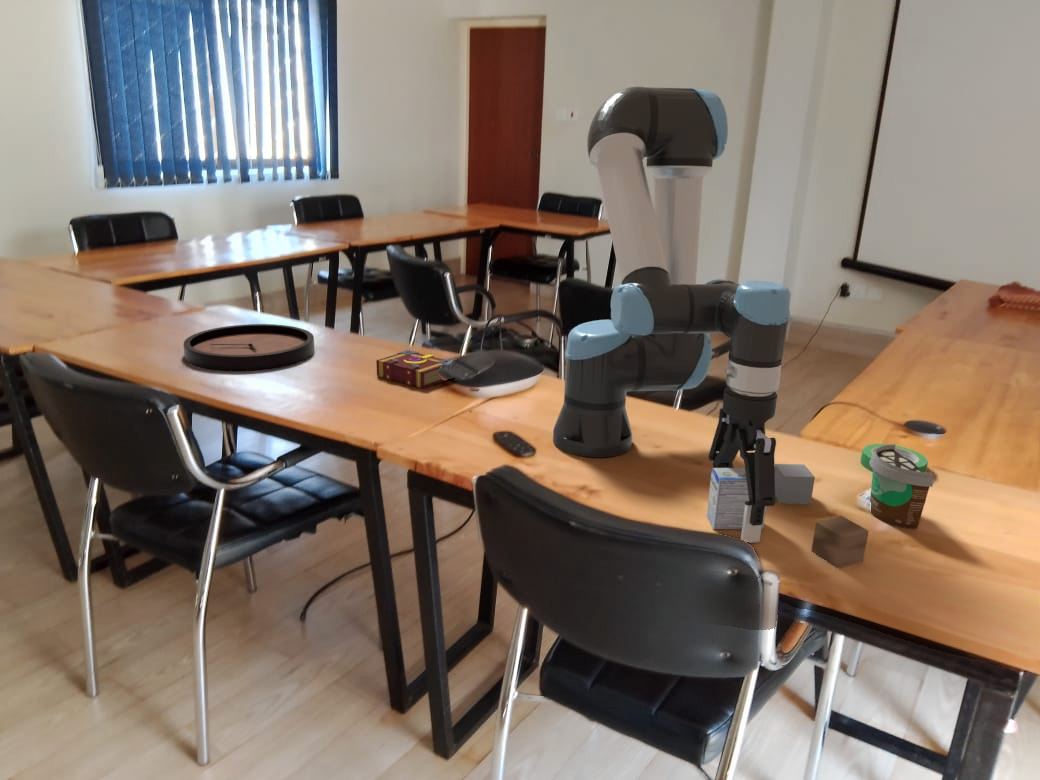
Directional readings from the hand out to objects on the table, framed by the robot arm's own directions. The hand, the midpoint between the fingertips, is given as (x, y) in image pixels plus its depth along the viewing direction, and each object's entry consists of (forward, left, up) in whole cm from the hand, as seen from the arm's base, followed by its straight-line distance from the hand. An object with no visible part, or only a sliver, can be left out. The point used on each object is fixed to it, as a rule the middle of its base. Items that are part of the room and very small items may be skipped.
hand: (733, 523), depth 125 cm
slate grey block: (-8, +14, 0) cm, 16 cm away
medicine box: (-1, 0, 0) cm, 1 cm away
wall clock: (-103, -84, -1) cm, 133 cm away
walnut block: (+11, +11, 0) cm, 15 cm away
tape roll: (-18, +40, -1) cm, 43 cm away
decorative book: (-80, -44, -1) cm, 91 cm away
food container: (0, +26, 0) cm, 26 cm away
